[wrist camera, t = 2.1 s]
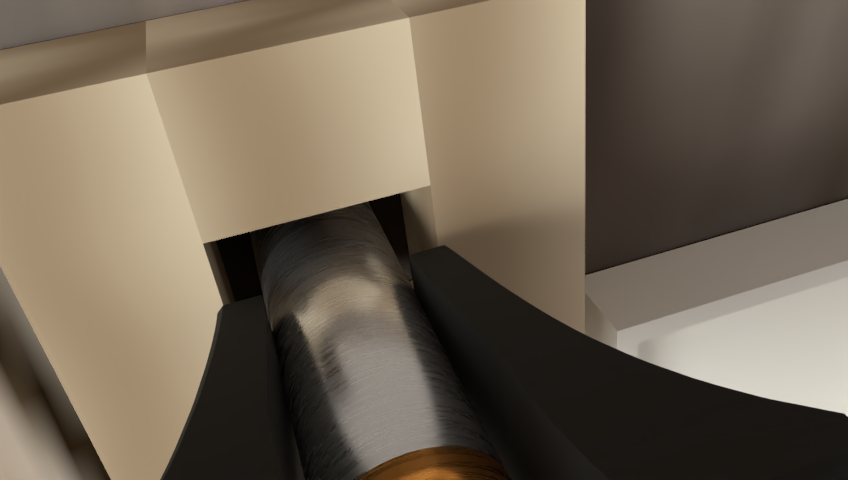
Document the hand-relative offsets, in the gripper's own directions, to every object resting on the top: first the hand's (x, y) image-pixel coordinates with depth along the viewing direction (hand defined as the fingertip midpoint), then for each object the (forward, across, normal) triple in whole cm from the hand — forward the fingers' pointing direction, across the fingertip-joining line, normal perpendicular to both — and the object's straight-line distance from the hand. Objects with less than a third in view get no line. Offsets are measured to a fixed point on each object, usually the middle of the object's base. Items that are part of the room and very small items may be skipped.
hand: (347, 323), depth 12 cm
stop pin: (+3, 0, 0) cm, 3 cm away
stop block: (+3, 0, 0) cm, 3 cm away
